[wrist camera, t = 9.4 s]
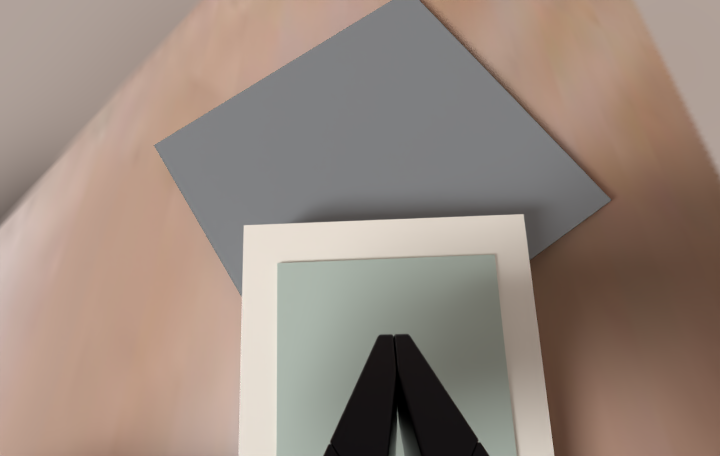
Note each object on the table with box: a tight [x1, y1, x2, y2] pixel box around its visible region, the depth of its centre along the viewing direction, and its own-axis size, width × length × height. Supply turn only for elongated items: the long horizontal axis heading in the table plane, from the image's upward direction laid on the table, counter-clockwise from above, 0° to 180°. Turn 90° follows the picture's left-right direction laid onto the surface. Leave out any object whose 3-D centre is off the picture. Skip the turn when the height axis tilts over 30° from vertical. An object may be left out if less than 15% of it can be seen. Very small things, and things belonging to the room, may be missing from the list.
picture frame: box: [238, 214, 554, 456], centre depth 15 cm, size 3×12×13 cm
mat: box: [154, 0, 611, 297], centre depth 19 cm, size 17×18×1 cm
